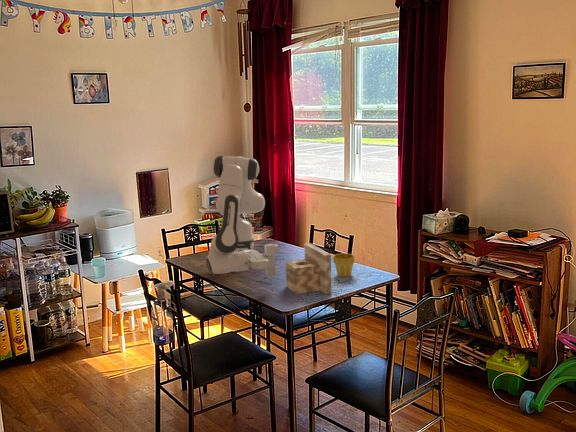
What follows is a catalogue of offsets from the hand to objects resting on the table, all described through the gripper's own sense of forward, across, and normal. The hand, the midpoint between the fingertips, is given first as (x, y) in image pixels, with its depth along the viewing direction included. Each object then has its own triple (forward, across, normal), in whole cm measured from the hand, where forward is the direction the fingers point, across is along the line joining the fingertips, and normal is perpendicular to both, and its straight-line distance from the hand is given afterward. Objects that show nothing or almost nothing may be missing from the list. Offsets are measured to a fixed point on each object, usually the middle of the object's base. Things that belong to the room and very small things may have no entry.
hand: (271, 257), depth 264 cm
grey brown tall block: (-1, 0, +8) cm, 8 cm away
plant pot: (+39, +6, +16) cm, 43 cm away
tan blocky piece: (+15, -5, +16) cm, 22 cm away
